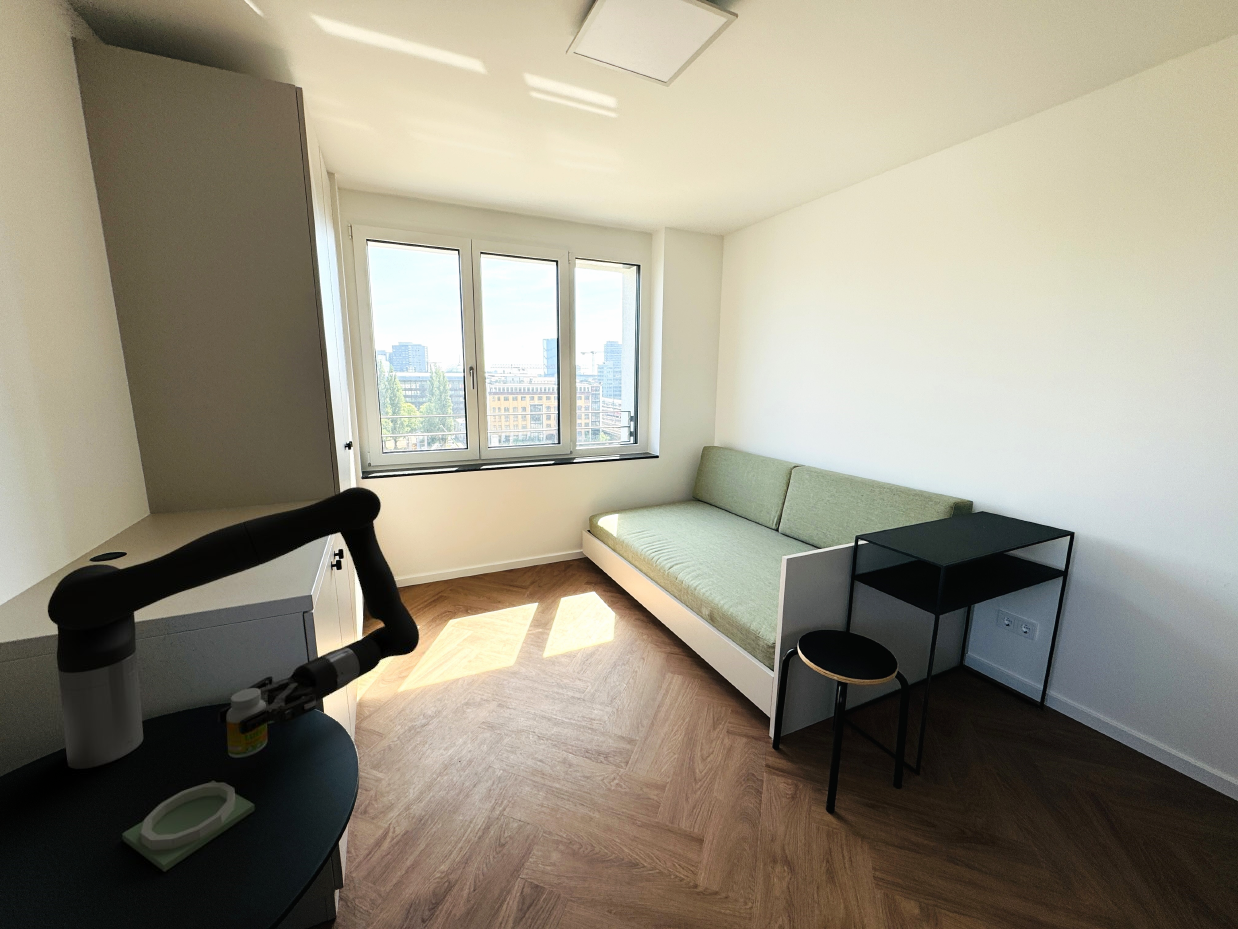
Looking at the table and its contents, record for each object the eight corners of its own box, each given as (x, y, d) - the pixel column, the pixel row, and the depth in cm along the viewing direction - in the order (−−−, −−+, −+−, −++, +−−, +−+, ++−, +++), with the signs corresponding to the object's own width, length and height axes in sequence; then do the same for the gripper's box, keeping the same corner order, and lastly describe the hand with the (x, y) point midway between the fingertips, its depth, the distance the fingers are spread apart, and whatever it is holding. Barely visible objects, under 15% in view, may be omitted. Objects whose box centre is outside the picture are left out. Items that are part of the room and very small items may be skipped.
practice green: (122, 840, 68) (121, 824, 68) (213, 786, 78) (212, 771, 78) (164, 872, 64) (163, 855, 64) (254, 810, 74) (253, 795, 74)
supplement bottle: (246, 761, 79) (243, 706, 78) (219, 755, 80) (216, 701, 79) (275, 740, 85) (273, 688, 84) (250, 734, 86) (247, 683, 85)
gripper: (302, 647, 97) (203, 690, 82) (351, 665, 92) (255, 714, 76) (303, 682, 98) (205, 731, 83) (352, 702, 93) (256, 758, 77)
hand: (229, 723), depth 80 cm, fingers closed on supplement bottle, 5 cm apart
